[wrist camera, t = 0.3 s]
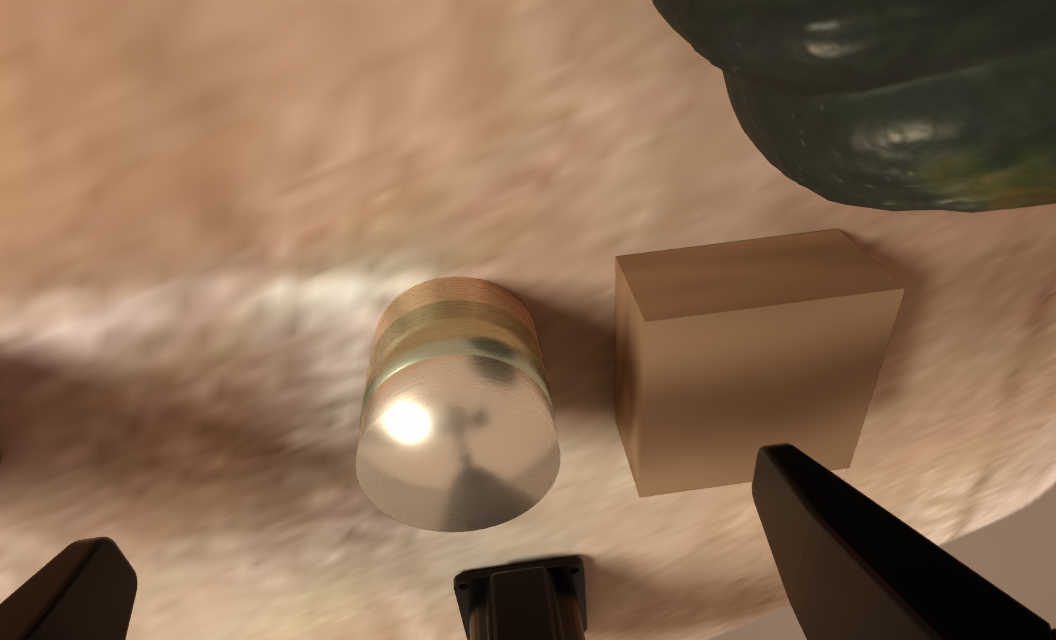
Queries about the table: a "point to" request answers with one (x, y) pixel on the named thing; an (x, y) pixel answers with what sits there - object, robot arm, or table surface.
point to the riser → (746, 355)
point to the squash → (891, 95)
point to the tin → (456, 409)
